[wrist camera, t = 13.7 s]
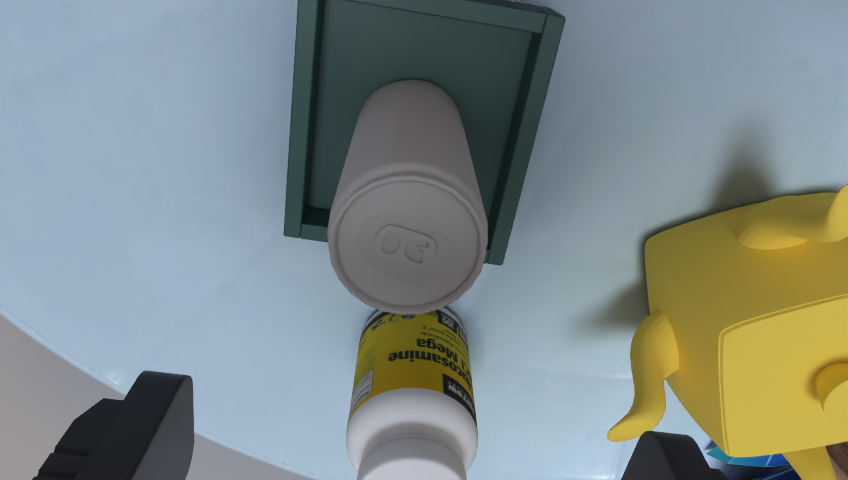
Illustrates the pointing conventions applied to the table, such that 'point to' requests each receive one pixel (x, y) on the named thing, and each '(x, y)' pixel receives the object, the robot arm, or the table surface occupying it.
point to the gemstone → (842, 456)
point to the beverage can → (408, 203)
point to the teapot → (750, 330)
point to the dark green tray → (427, 61)
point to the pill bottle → (412, 399)
